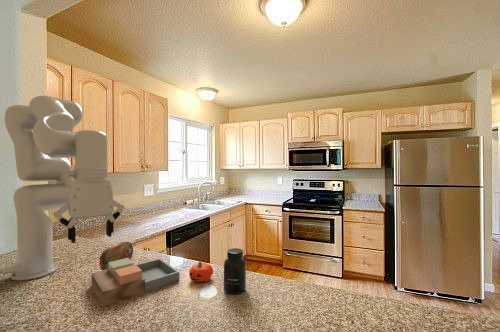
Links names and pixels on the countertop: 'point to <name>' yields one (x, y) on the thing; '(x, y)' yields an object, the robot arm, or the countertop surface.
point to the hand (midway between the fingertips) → (91, 238)
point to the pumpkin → (200, 272)
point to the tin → (116, 254)
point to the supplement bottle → (234, 272)
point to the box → (158, 274)
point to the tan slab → (114, 288)
